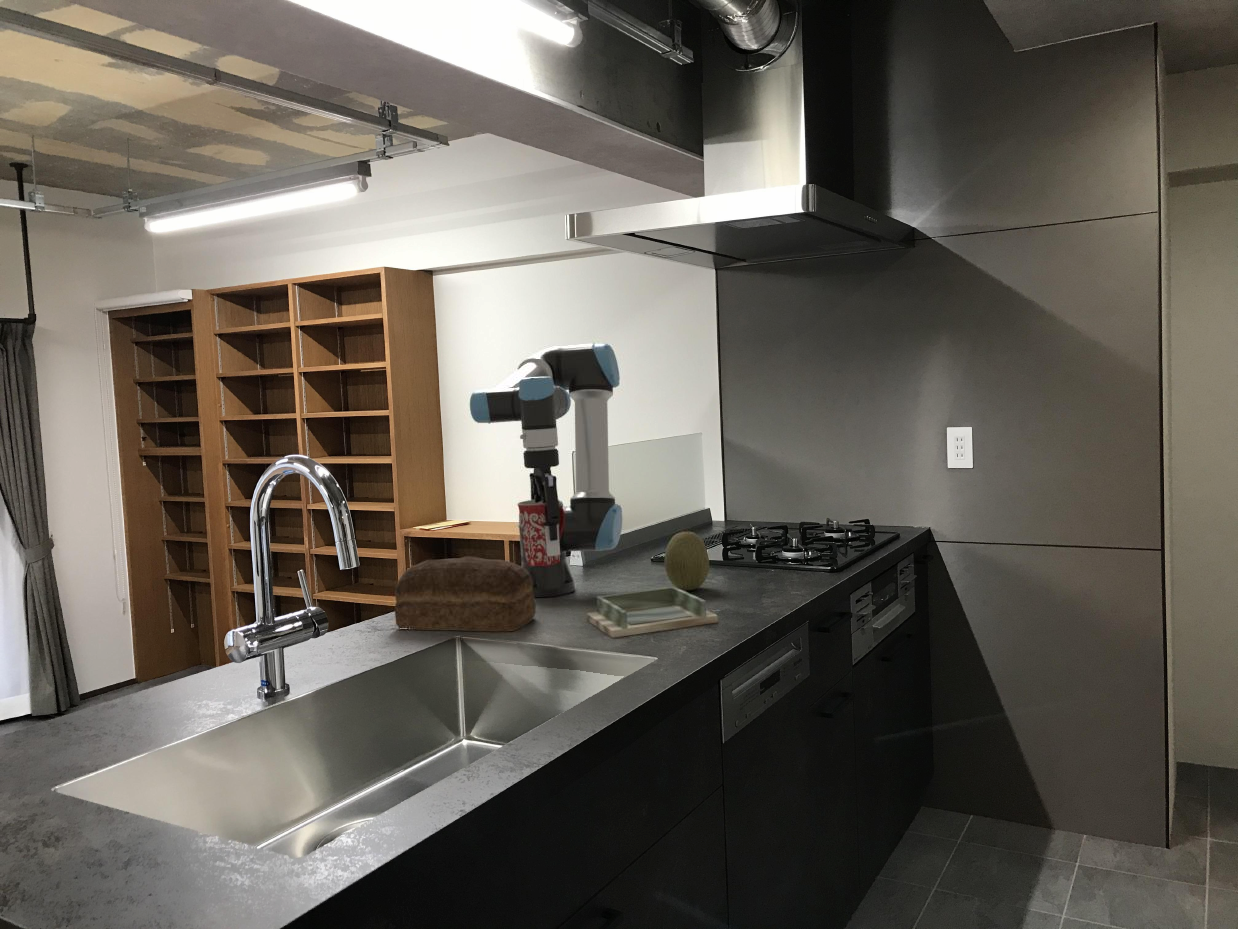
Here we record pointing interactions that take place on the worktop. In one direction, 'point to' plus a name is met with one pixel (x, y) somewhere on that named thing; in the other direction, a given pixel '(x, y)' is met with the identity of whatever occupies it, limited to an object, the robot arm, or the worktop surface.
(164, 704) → the worktop surface
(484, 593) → the bread
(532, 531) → the mug
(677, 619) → the tray
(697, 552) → the fruit
